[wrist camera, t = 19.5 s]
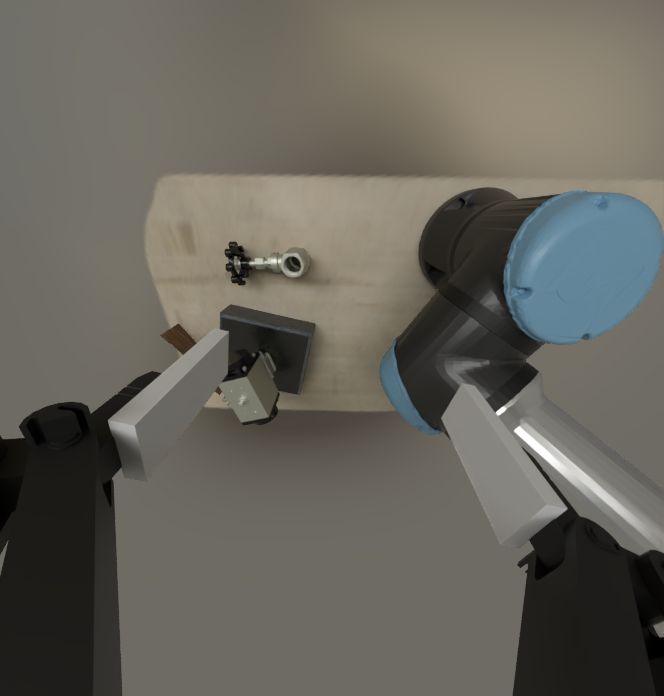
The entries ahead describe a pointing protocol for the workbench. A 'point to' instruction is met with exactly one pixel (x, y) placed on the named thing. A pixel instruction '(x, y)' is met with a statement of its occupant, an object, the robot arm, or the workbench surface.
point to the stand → (271, 342)
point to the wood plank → (181, 341)
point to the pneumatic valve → (251, 387)
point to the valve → (265, 262)
